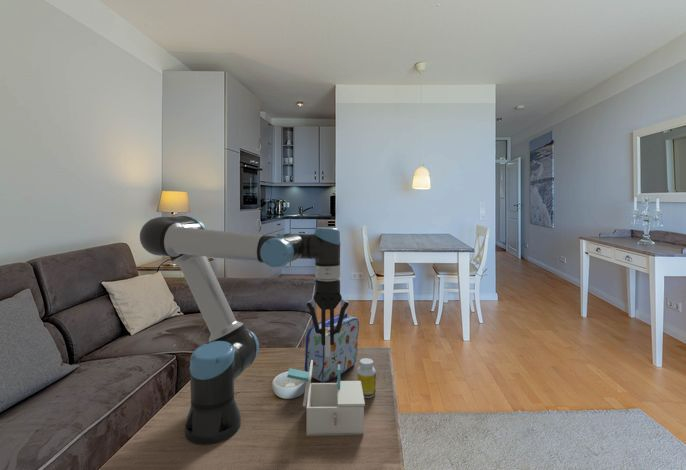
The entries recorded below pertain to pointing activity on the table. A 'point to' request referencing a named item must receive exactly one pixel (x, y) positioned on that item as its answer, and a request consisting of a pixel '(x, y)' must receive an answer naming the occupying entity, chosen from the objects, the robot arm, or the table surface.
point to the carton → (331, 413)
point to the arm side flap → (302, 378)
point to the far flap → (349, 392)
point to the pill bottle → (367, 377)
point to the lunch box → (332, 349)
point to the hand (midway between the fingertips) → (327, 354)
